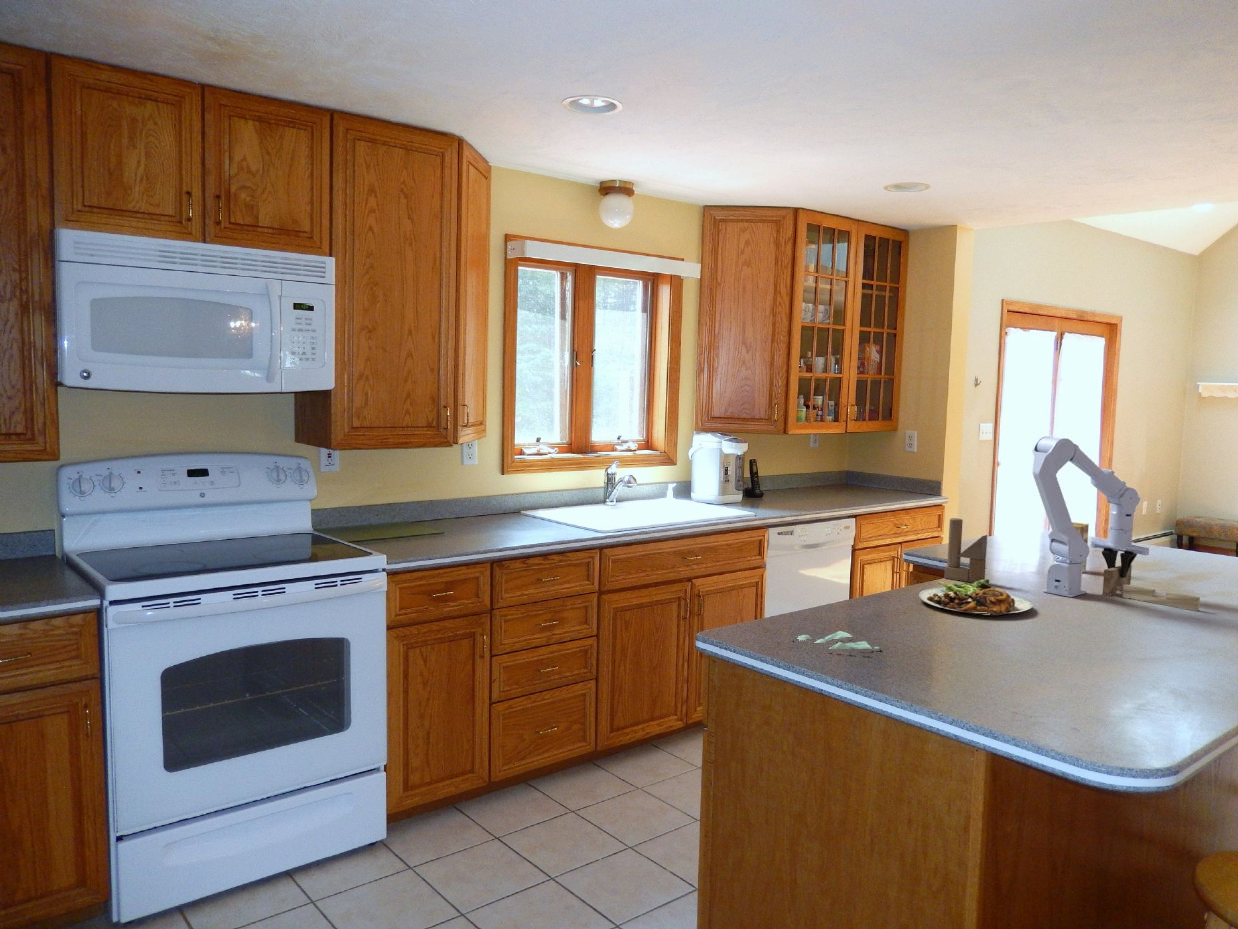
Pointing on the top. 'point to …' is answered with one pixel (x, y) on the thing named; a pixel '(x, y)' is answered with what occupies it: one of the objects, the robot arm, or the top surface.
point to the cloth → (840, 645)
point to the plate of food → (975, 598)
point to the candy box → (1083, 530)
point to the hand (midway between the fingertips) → (1117, 576)
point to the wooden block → (965, 555)
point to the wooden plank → (1115, 580)
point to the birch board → (1170, 599)
